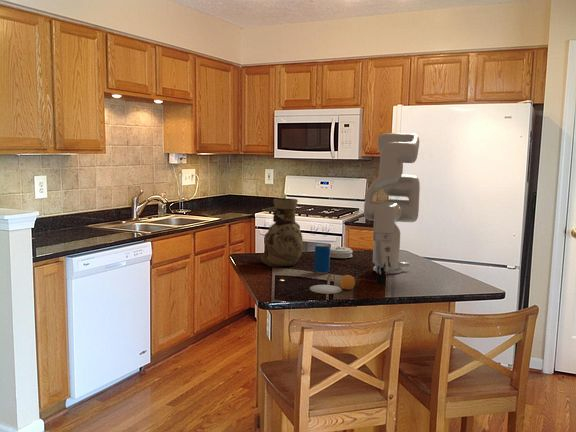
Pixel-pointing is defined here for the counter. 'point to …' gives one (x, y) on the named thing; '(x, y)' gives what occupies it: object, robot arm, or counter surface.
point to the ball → (347, 282)
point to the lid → (340, 252)
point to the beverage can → (322, 258)
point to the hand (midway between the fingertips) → (380, 283)
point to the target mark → (325, 289)
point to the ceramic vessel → (283, 236)
